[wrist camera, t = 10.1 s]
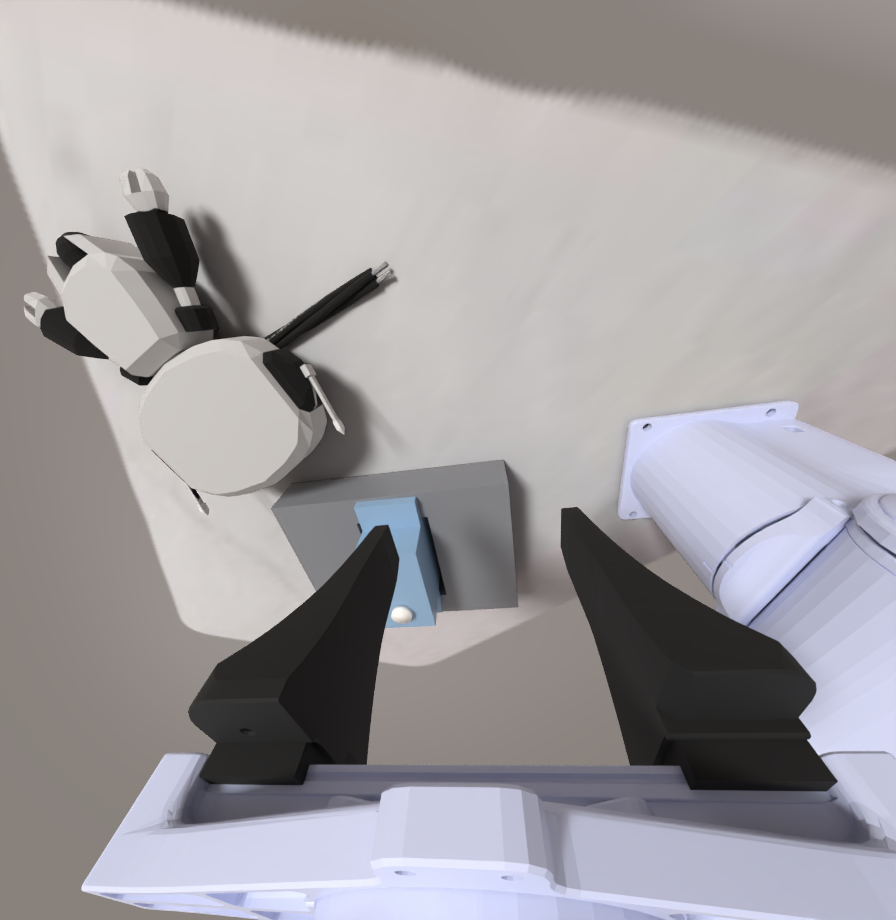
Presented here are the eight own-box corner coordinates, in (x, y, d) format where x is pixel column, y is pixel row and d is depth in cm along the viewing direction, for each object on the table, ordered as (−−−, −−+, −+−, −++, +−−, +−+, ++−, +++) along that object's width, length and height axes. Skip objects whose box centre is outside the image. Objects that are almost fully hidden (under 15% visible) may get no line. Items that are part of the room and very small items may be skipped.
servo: (420, 475, 22) (407, 533, 17) (444, 580, 28) (439, 647, 23) (367, 481, 23) (338, 538, 18) (400, 582, 28) (386, 649, 23)
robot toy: (72, 307, 19) (248, 491, 24) (-35, 308, 15) (202, 528, 20) (196, 168, 16) (372, 418, 21) (99, 121, 12) (346, 445, 17)
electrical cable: (385, 258, 17) (381, 257, 16) (395, 277, 17) (391, 277, 16) (226, 364, 20) (215, 368, 19) (238, 378, 20) (228, 382, 20)
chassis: (503, 459, 22) (508, 483, 19) (513, 576, 28) (518, 607, 25) (291, 483, 24) (270, 508, 21) (342, 588, 30) (330, 617, 27)
